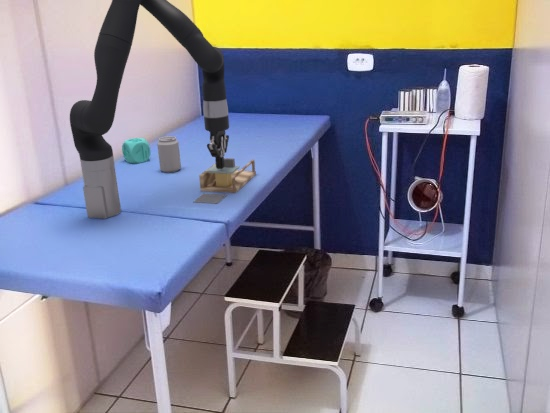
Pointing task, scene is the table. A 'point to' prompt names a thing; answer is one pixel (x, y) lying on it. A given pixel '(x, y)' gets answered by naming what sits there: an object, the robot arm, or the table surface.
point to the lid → (225, 167)
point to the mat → (210, 198)
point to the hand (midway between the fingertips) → (220, 168)
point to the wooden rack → (237, 180)
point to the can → (169, 154)
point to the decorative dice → (136, 150)
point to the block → (223, 179)
